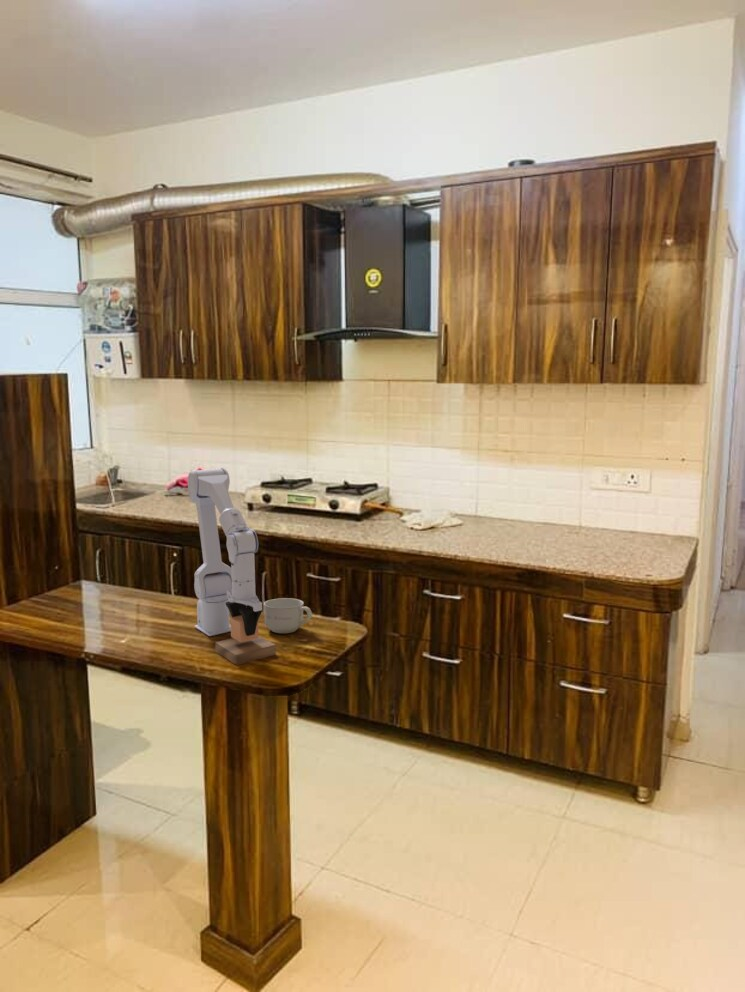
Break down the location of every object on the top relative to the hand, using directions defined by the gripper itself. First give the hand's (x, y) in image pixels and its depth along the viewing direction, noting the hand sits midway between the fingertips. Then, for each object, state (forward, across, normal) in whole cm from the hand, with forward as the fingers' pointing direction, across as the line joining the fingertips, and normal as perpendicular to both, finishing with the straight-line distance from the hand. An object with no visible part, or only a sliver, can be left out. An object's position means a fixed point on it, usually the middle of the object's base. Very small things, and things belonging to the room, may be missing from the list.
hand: (244, 631), depth 189 cm
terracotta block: (+2, 0, 0) cm, 2 cm away
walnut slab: (+6, 0, 0) cm, 6 cm away
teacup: (+6, -7, +17) cm, 19 cm away
